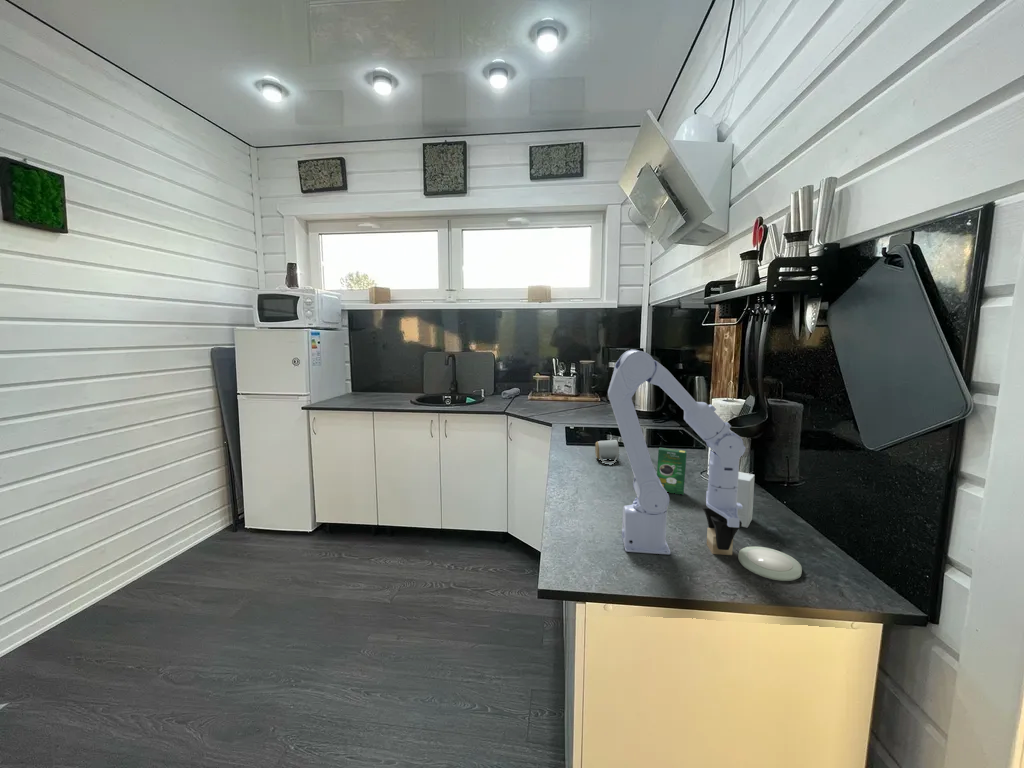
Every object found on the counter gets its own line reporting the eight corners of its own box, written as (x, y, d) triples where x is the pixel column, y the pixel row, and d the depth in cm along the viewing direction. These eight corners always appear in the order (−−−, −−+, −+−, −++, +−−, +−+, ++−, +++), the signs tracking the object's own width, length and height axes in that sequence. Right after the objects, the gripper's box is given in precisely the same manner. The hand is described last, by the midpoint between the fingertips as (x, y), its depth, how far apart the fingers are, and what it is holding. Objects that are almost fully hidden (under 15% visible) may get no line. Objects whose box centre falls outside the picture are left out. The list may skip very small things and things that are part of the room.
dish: (751, 578, 80) (751, 572, 80) (730, 549, 91) (730, 544, 91) (813, 583, 78) (814, 577, 78) (784, 552, 89) (784, 547, 89)
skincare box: (733, 515, 107) (736, 470, 106) (752, 519, 105) (755, 474, 103) (728, 523, 103) (731, 477, 101) (747, 528, 100) (750, 481, 99)
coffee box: (685, 492, 123) (687, 449, 121) (684, 495, 120) (686, 452, 119) (656, 488, 126) (658, 446, 125) (655, 491, 124) (657, 449, 122)
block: (712, 553, 89) (713, 536, 88) (706, 544, 93) (707, 527, 92) (732, 555, 88) (733, 537, 88) (725, 545, 92) (726, 528, 92)
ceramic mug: (594, 456, 159) (594, 437, 158) (615, 456, 158) (616, 437, 157) (598, 466, 148) (598, 445, 147) (621, 466, 148) (621, 445, 147)
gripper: (757, 498, 81) (753, 562, 83) (730, 473, 95) (726, 529, 97) (719, 496, 82) (715, 560, 84) (697, 472, 96) (695, 527, 98)
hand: (719, 543), depth 90 cm, fingers closed on block, 4 cm apart
